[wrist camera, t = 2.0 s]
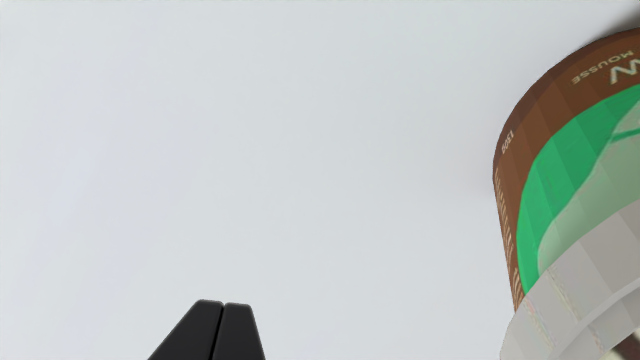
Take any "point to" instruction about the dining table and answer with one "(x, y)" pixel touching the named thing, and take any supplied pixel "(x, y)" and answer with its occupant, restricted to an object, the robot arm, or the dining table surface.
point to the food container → (574, 207)
